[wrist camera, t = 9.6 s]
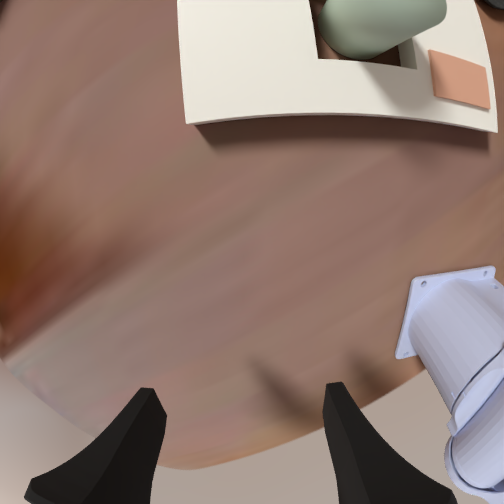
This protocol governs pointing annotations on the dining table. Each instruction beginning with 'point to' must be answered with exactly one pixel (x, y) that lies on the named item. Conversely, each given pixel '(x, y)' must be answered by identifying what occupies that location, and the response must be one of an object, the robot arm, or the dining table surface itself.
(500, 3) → the sushi plate
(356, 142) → the dining table surface
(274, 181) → the dining table surface
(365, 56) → the peg
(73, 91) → the dining table surface
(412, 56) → the hole board
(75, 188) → the dining table surface
